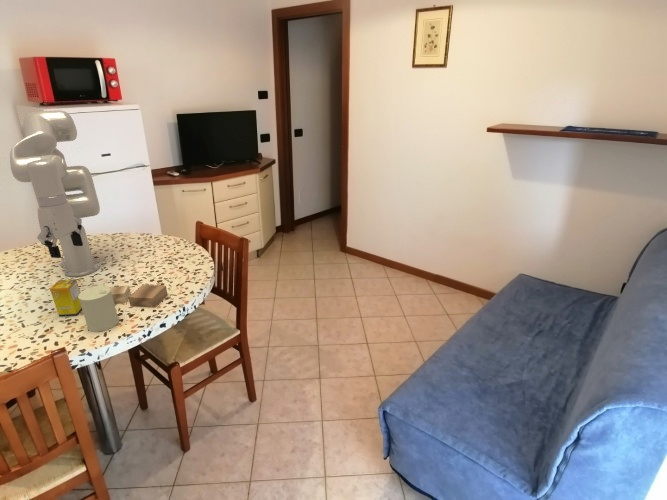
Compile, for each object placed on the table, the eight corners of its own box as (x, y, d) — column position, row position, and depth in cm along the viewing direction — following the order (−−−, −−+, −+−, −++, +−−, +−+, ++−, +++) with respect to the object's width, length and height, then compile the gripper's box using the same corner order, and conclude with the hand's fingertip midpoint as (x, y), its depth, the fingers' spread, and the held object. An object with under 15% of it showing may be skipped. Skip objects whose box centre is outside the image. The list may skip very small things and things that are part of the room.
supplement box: (67, 307, 142) (58, 279, 137) (85, 306, 142) (77, 278, 138) (58, 317, 136) (48, 288, 132) (77, 316, 137) (68, 287, 132)
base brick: (130, 307, 142) (128, 297, 140) (144, 294, 150) (142, 284, 149) (154, 308, 141) (152, 298, 139) (167, 295, 149) (165, 285, 147)
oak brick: (108, 305, 143) (105, 295, 142) (113, 296, 149) (110, 287, 147) (127, 303, 144) (124, 293, 143) (131, 294, 150) (128, 285, 148)
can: (112, 331, 128) (103, 297, 123) (81, 332, 128) (71, 299, 123) (123, 315, 137) (115, 283, 132) (95, 316, 136) (85, 284, 131)
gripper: (62, 192, 134) (76, 241, 141) (18, 208, 118) (36, 262, 125) (83, 193, 133) (96, 241, 140) (40, 209, 117) (57, 263, 124)
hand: (67, 251), depth 133 cm, fingers open, 9 cm apart
